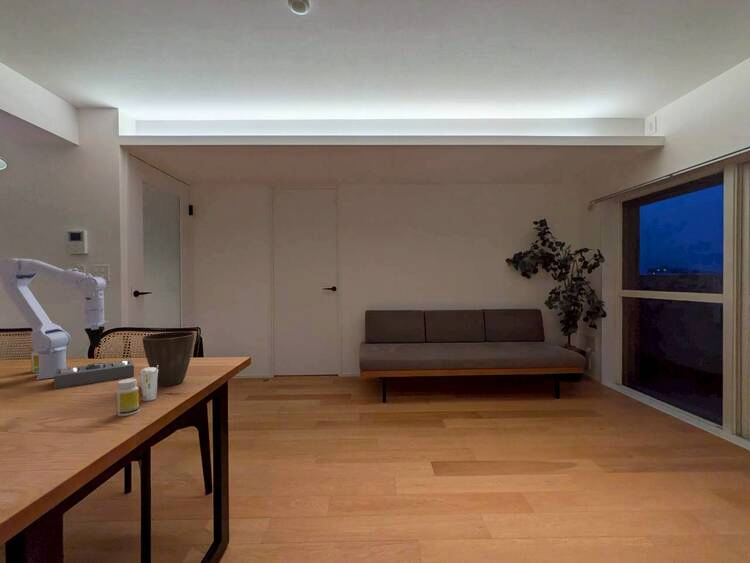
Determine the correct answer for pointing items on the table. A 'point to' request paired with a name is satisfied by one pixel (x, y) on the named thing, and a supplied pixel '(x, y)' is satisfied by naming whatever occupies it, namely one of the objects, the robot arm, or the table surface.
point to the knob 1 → (68, 369)
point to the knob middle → (95, 366)
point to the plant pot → (169, 355)
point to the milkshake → (149, 383)
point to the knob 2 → (120, 362)
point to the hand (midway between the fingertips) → (95, 347)
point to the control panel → (93, 374)
